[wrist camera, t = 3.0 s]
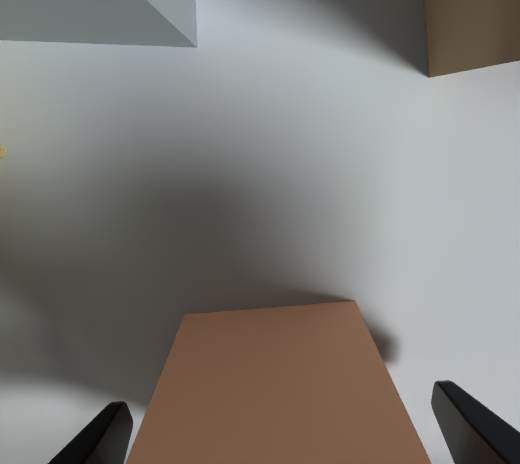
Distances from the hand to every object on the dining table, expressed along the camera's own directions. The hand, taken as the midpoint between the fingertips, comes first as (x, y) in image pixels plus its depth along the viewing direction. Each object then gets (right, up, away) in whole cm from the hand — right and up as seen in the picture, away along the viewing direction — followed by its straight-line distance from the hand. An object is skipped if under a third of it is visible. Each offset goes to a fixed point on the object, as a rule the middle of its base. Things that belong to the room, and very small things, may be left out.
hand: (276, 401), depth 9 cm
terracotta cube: (0, 0, +1) cm, 1 cm away
